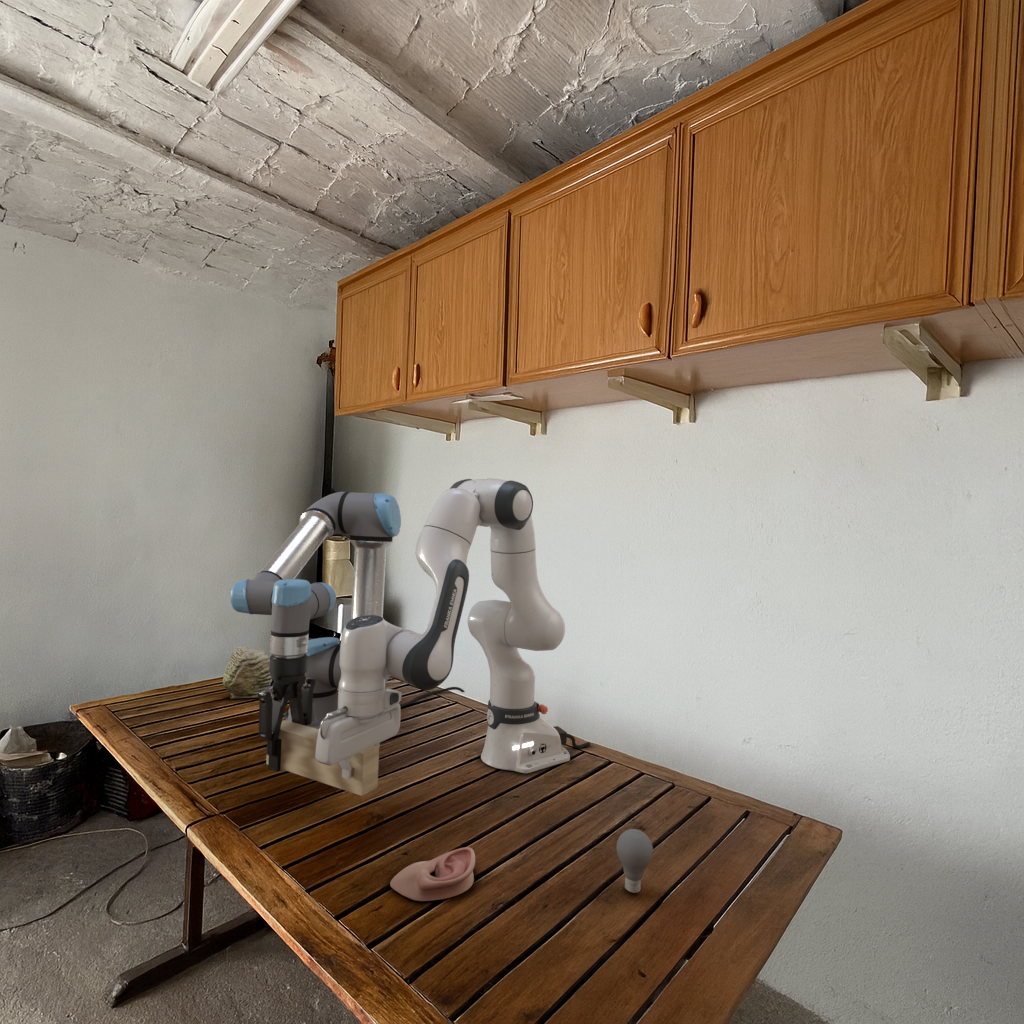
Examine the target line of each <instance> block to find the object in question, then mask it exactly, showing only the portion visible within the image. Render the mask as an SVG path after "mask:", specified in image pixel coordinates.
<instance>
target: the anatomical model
mask: <svg viewBox="0 0 1024 1024" xmlns="http://www.w3.org/2000/svg"><path fill="white" fill-rule="evenodd" d="M475 867H476V854H475V851H474V849H473V848H471V847H469V846H468V847H465V846H464V847H460V848H457V849H454V850H450V851H448V852H445V853H443V854H441V855H439V856H437V857H435V858H433V859H430V860H423V861H421V860H420V861H417V862H413V863H411V864H408V866H406V867H404V868H402V869H401V870H400V871H399V872H397V874H395V875H394V876H393V877H392V878H391V880H390V882H389V884H390V888H391V889H392V890H394V891H395V892H397V893H398V894H400V895H401V896H403V897H405V898H408V899H410V900H412V901H416V902H431V901H438V900H445V899H449V898H452V897H456V896H459V895H461V894H463V893H464V892H467V891H468V890H469V889H470V888H471V887H472V886H473V884H474V881H475V877H474V868H475Z"/></svg>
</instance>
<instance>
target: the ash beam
mask: <svg viewBox="0 0 1024 1024" xmlns="http://www.w3.org/2000/svg"><path fill="white" fill-rule="evenodd" d="M318 732H319V729H315V728H312V727H308V726H305V725H301V724H297V723H294V722H290V721H287V720H286V719H282V723H281V728H280V732H279V737H278V738H279V739H282V741H281V765H280V770H283V771H286V772H289V773H291V774H295V775H298V776H300V777H304V778H307V779H310V780H313V781H315V782H319V783H321V784H325V785H328V786H331V787H334V788H337V789H340V790H343V791H346V792H348V793H351V794H354V795H358V796H361V797H363V796H365V795H367V794H368V793H369V792H372V791H373V790H375V789H377V788H378V787H379V763H380V748H379V746H376V745H373V746H371V747H369V748H367V749H365V750H362V751H360V752H358V753H357V754H355V755H353V756H351V761H350V762H349V764H350V766H351V767H353V768H354V776H353V777H351V778H349V779H345V778H343V777H342V768H341V766H340V764H339V762H338V763H336V764H334V765H332V766H328V765H324V764H322V763H319V762H318V761H317V760H316V758H315V753H316V744H317V737H318ZM272 733H273V732H272ZM265 761H266V762H265V763H266V764H265V765H268V761H269V755H267V754H266V760H265Z"/></svg>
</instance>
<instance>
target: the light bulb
mask: <svg viewBox="0 0 1024 1024" xmlns="http://www.w3.org/2000/svg"><path fill="white" fill-rule="evenodd" d="M615 849H616V854H617V857H618V859H619V861H620V863H621V865H622V867H623V873H624V874H623V875H624V876H625V878H624V888H625V890H627V891H628V892H630V893H634V894H635V893H639V892H640V891H641V889H642V887H641V886H642V879H643V877H644V875H645V871H646V868H647V867H648V866H649V864H650V863H651V861H652V859H653V855H654V847H653V843H652V841H651V838H649V836H648V835H647V834H646V833H645V832H643V831H642V830H641V829H636V828H629V829H627V830H625V831H623V832H622V833H621V834H620V835H619V837H618V839H617V841H616V847H615Z"/></svg>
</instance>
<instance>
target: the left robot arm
mask: <svg viewBox="0 0 1024 1024" xmlns="http://www.w3.org/2000/svg"><path fill="white" fill-rule="evenodd" d="M401 517H402V516H401V510H400V506H399V504H398V501H397V499H396V498H395V496H393V495H391V494H388V493H381V492H355V491H354V492H352V491H351V492H350V491H338V492H333V493H330V494H328V495H326V496H324V497H321V498H320V499H318V500H317V501H315V502H314V503H312V504H311V505H309V507H307V508H306V509H305V510H304V511H303V513H302V514H301V515H300V517H299V519H298V525H297V526H296V527H295V528H294V530H292V532H291V533H290V535H289V536H288V537H287V538H286V539H285V541H283V543H282V544H281V545H280V546H279V547H278V549H277V550H276V551H275V552H274V553H273V555H272V556H271V557H270V558H269V560H267V562H266V563H265V565H263V566H262V568H261V569H260V570H259V572H258V573H257V574H256V575H255V576H254V577H253V578H252V579H249V578H247V579H246V578H245V579H240V580H238V581H236V582H235V583H234V584H233V585H232V587H231V591H230V594H229V595H230V597H229V598H230V599H229V601H230V603H231V607H232V609H233V610H234V611H235V612H237V613H241V614H249V615H262V616H271V629H270V639H269V640H270V643H269V654H270V656H269V658H270V664H269V672H270V675H271V681H270V683H269V687H268V688H266V689H265V690H264V691H263V690H259V691H258V693H257V695H258V697H257V698H258V701H259V705H258V709H259V710H258V738H260V739H262V740H265V741H266V756H267V755H269V761H268V764H267V769H268V770H270V771H273V772H276V773H278V772H281V769H280V765H281V741H282V739H279V738H278V737H279V732H280V728H281V723H282V721H283V720H284V719H285V720H287V721H290V722H294V723H297V724H301V725H305V726H308V727H312V728H315V729H319V728H320V724H321V721H323V719H324V718H325V717H326V714H328V713H329V712H334V711H336V710H338V688H339V681H340V678H341V668H340V664H339V662H340V646H341V640H340V639H339V638H338V637H334V636H325V637H318V638H312V639H309V635H310V621H311V620H314V619H316V618H321V617H324V616H326V615H327V614H328V613H330V612H331V611H332V610H333V609H334V607H335V605H336V602H337V596H336V595H337V594H336V592H335V590H334V588H333V587H332V586H331V585H330V584H328V583H325V582H313V583H310V581H309V580H307V579H300V578H297V576H298V575H299V574H300V573H301V571H302V570H303V568H304V567H305V566H306V565H307V563H308V562H309V561H310V559H311V558H312V557H313V555H314V554H315V552H316V551H317V550H318V549H319V547H321V545H322V544H323V542H325V541H328V540H330V538H331V537H332V536H333V535H337V534H344V535H345V534H346V535H349V542H350V543H351V544H352V545H353V547H354V556H353V575H352V590H351V591H352V592H351V611H350V620H352V619H354V618H356V617H360V616H364V615H365V616H367V615H377V616H381V617H382V618H383V619H384V602H385V601H384V600H385V583H386V566H387V565H386V564H387V549H388V547H389V546H391V545H392V544H393V539H394V537H397V536H398V535H400V531H401V527H402V526H401V525H402V518H401ZM389 678H390V677H387V678H386V680H385V685H386V684H387V683H388V681H389ZM453 690H454V691H455V690H456V691H459V692H461V693H465V692H466V691H465V690H464V689H463V688H461V687H458V686H450V687H446V688H442V689H438V690H437V689H436V690H432V691H428V692H426V693H423V694H420V695H417V696H416V697H415V698H414V697H413V698H412V699H411V700H409V701H406V702H403V703H399V704H400V708H403V707H407V706H408V705H411V704H413V703H415V702H417V701H418V700H421V699H423V698H426V697H428V696H431V695H435V694H440V693H444V692H449V691H453ZM272 693H273V695H272ZM288 704H289V708H288V710H287V711H285V709H286V707H287V706H288ZM272 732H273V733H272Z"/></svg>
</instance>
